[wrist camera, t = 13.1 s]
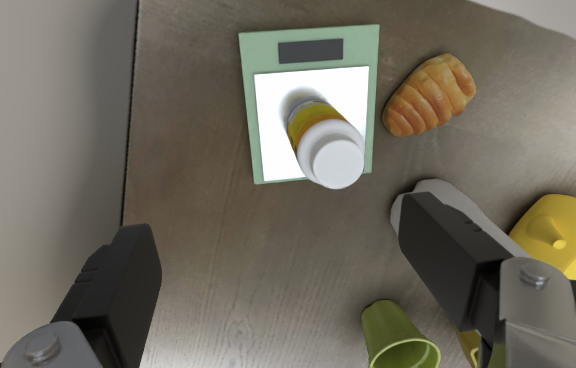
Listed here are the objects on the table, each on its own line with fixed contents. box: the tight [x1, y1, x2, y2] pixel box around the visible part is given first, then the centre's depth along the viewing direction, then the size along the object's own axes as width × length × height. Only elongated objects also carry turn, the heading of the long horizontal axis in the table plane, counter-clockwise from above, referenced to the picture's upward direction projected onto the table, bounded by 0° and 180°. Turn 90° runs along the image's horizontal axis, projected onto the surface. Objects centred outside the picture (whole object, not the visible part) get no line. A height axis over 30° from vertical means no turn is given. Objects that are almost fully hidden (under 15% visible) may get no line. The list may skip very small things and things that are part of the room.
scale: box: [238, 24, 379, 184], centre depth 35 cm, size 15×13×3 cm
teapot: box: [509, 194, 576, 280], centre depth 43 cm, size 14×13×10 cm
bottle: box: [390, 179, 532, 336], centre depth 31 cm, size 9×9×30 cm
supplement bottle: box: [287, 100, 365, 189], centre depth 30 cm, size 6×6×10 cm
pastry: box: [382, 53, 476, 137], centre depth 36 cm, size 9×7×4 cm
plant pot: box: [361, 300, 440, 368], centre depth 48 cm, size 9×9×9 cm
